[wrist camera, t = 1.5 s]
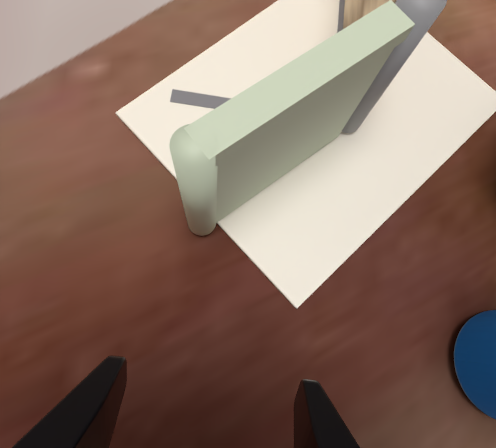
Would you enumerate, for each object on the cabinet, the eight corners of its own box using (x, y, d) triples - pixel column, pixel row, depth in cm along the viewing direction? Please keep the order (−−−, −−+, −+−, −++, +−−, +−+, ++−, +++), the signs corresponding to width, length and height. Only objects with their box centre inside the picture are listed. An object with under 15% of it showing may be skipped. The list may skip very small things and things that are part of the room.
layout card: (503, 103, 29) (506, 100, 29) (295, 308, 24) (297, 308, 23) (339, -40, 32) (340, -44, 32) (116, 114, 26) (115, 112, 26)
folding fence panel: (347, 103, 27) (424, -29, 17) (366, 123, 27) (455, 0, 17) (180, 217, 24) (157, 135, 14) (199, 242, 24) (189, 176, 14)
